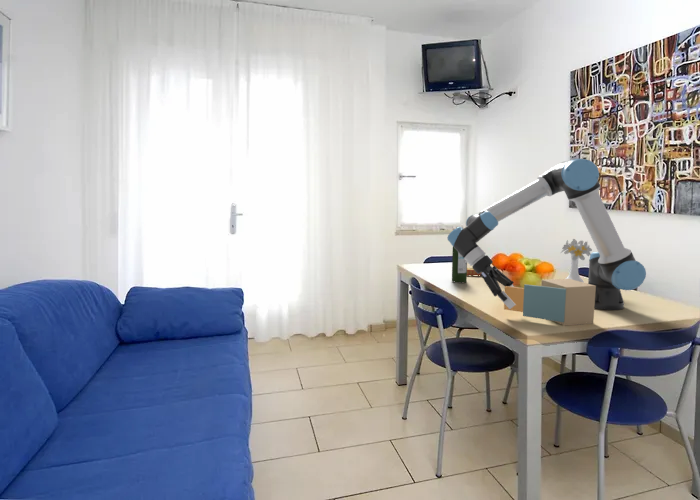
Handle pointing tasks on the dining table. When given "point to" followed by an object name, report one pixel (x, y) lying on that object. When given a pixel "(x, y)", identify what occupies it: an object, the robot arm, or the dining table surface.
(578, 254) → the flower vase
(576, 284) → the kraft box
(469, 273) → the carton
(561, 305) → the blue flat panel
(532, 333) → the dining table surface
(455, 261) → the wine bottle
